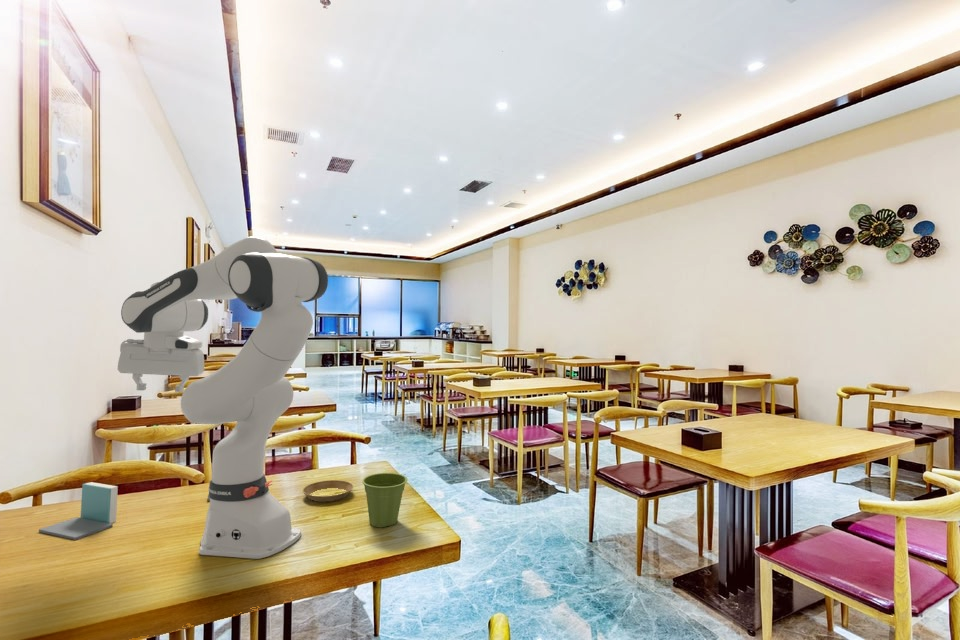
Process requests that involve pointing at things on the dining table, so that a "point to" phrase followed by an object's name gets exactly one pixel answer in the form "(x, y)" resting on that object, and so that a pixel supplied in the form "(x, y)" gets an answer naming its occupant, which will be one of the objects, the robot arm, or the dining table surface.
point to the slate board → (75, 528)
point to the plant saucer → (325, 485)
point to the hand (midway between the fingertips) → (160, 390)
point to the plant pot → (384, 497)
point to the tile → (99, 502)
